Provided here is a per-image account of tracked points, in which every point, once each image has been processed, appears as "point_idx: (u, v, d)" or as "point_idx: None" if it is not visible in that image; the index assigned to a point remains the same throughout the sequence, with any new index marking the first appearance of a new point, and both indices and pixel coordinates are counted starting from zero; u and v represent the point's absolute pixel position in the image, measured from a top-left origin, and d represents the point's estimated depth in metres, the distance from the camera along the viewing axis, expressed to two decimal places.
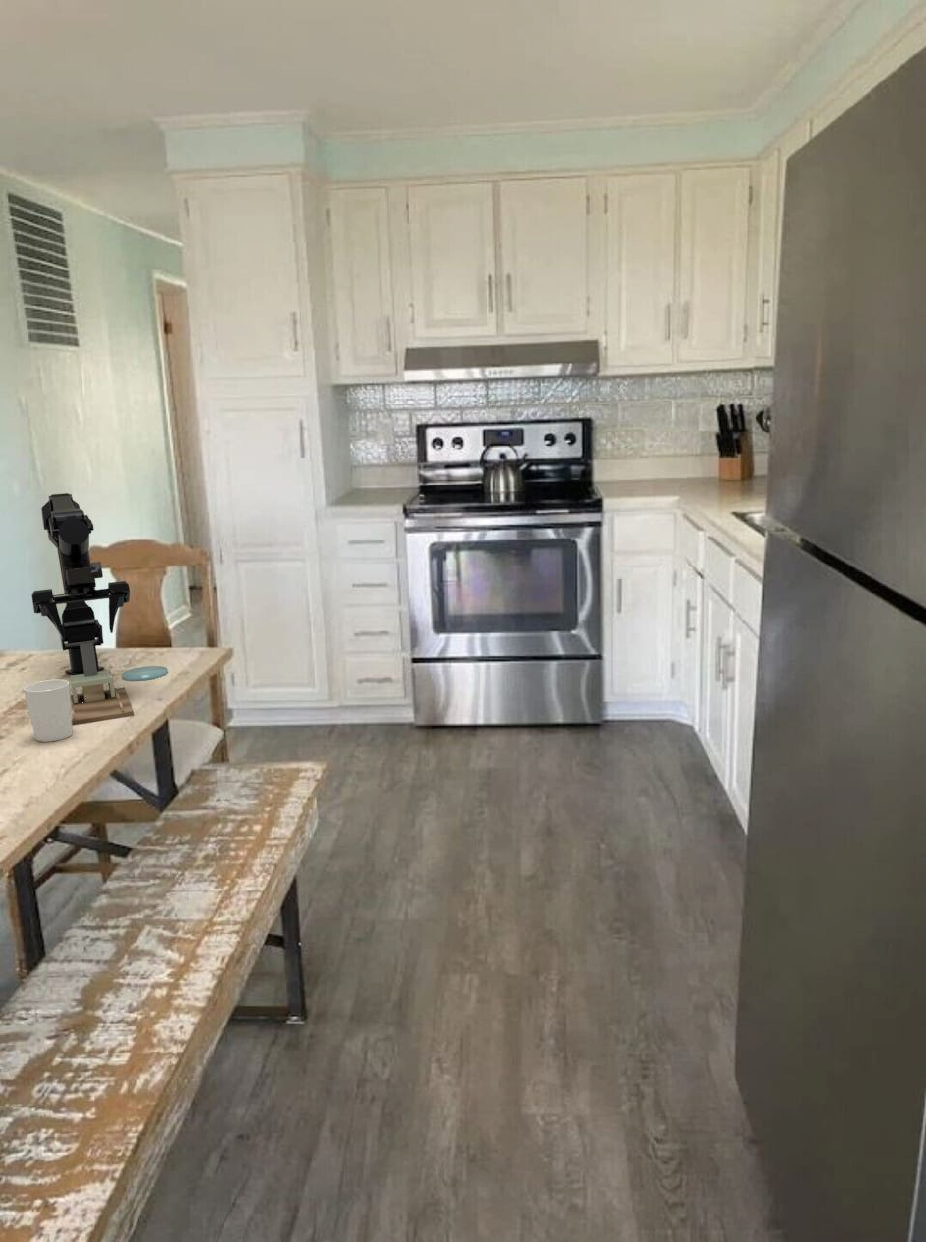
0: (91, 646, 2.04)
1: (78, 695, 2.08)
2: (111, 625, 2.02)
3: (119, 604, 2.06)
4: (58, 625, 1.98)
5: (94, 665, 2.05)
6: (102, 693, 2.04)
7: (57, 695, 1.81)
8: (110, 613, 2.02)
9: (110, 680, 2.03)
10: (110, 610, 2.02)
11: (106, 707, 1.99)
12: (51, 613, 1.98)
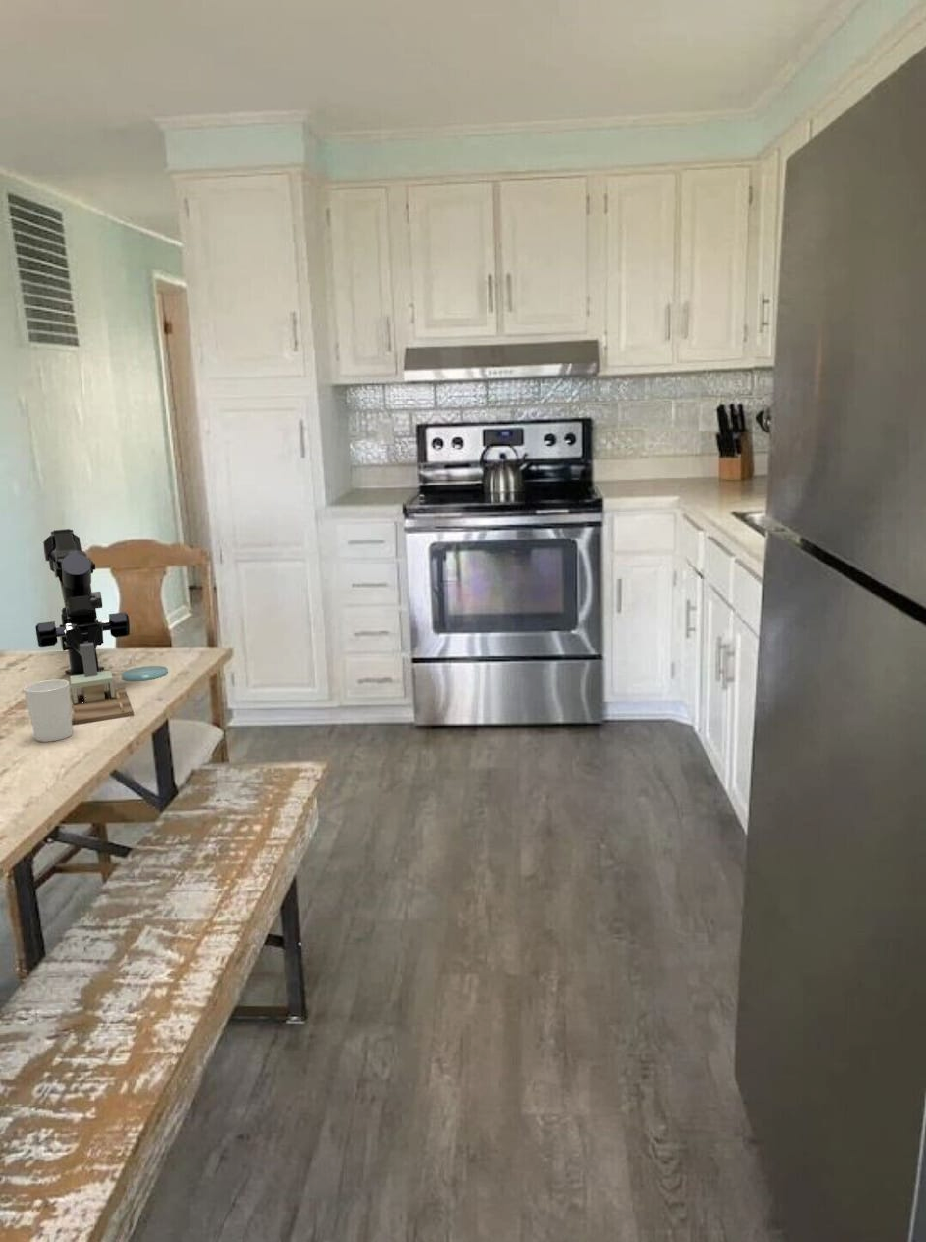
0: (91, 646, 2.04)
1: (78, 695, 2.08)
2: None
3: (98, 639, 2.13)
4: None
5: (94, 665, 2.05)
6: (102, 693, 2.04)
7: (57, 695, 1.81)
8: None
9: (110, 680, 2.03)
10: (88, 642, 2.09)
11: (106, 707, 1.99)
12: (76, 639, 2.08)
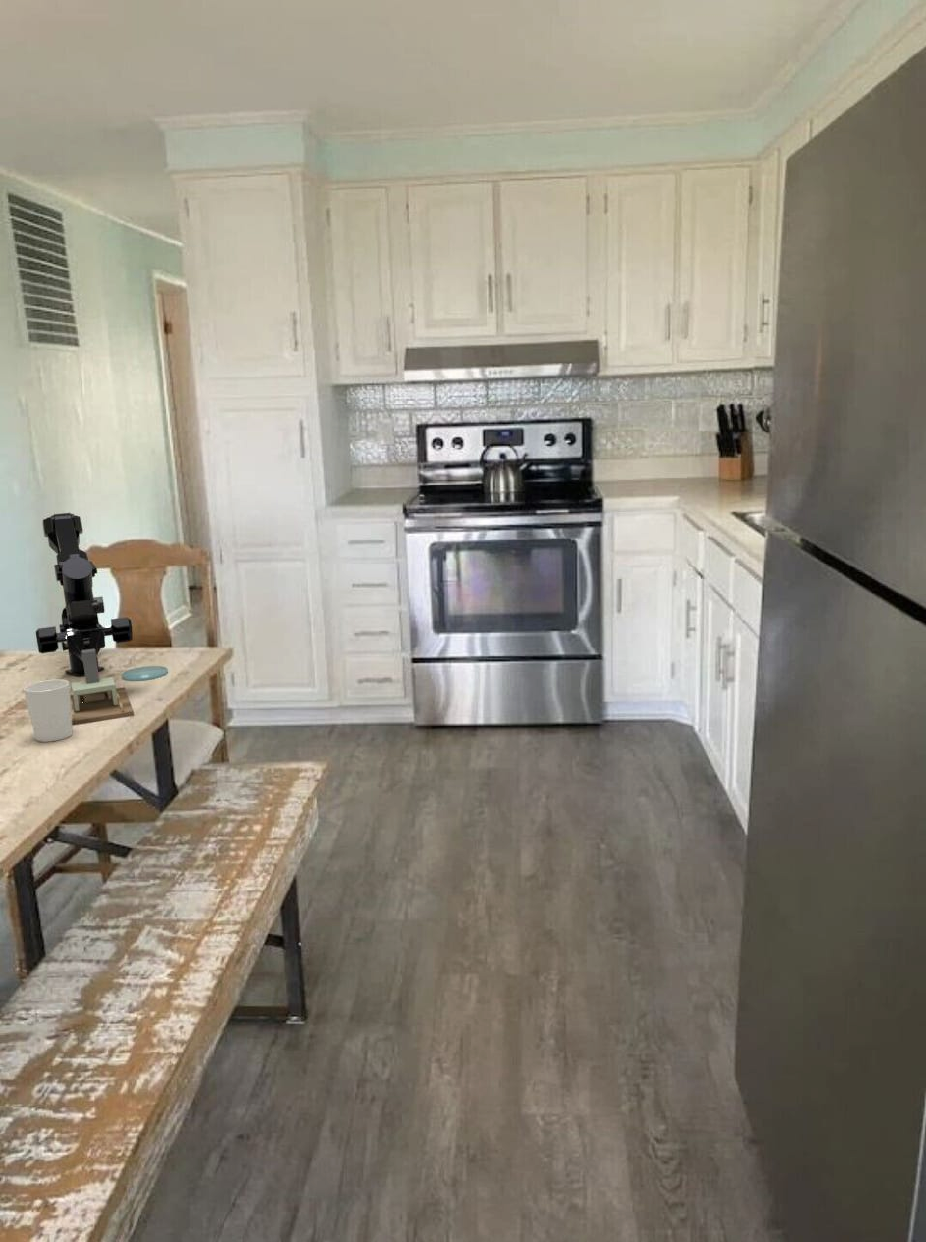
0: (93, 652, 1.99)
1: (78, 695, 2.08)
2: None
3: (100, 644, 2.07)
4: None
5: (96, 672, 2.00)
6: (102, 693, 2.04)
7: (57, 695, 1.81)
8: None
9: (112, 687, 1.98)
10: (90, 647, 2.03)
11: (106, 707, 1.99)
12: (77, 645, 2.03)
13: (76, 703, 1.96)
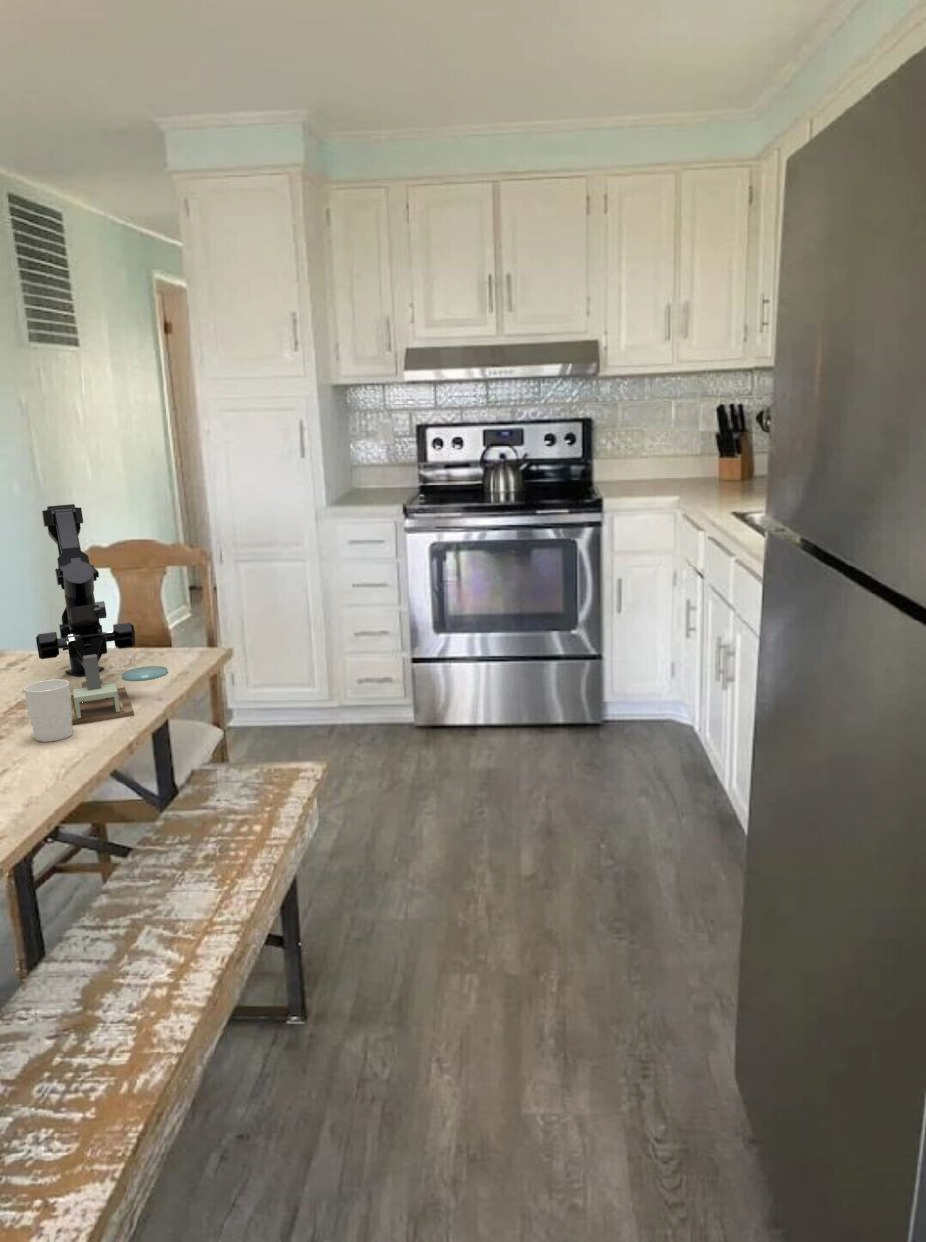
0: (95, 658, 1.94)
1: None
2: None
3: (102, 650, 2.03)
4: None
5: (98, 678, 1.95)
6: None
7: (57, 695, 1.81)
8: None
9: (115, 694, 1.93)
10: (92, 653, 1.99)
11: (106, 707, 1.99)
12: (79, 651, 1.98)
13: (77, 710, 1.91)
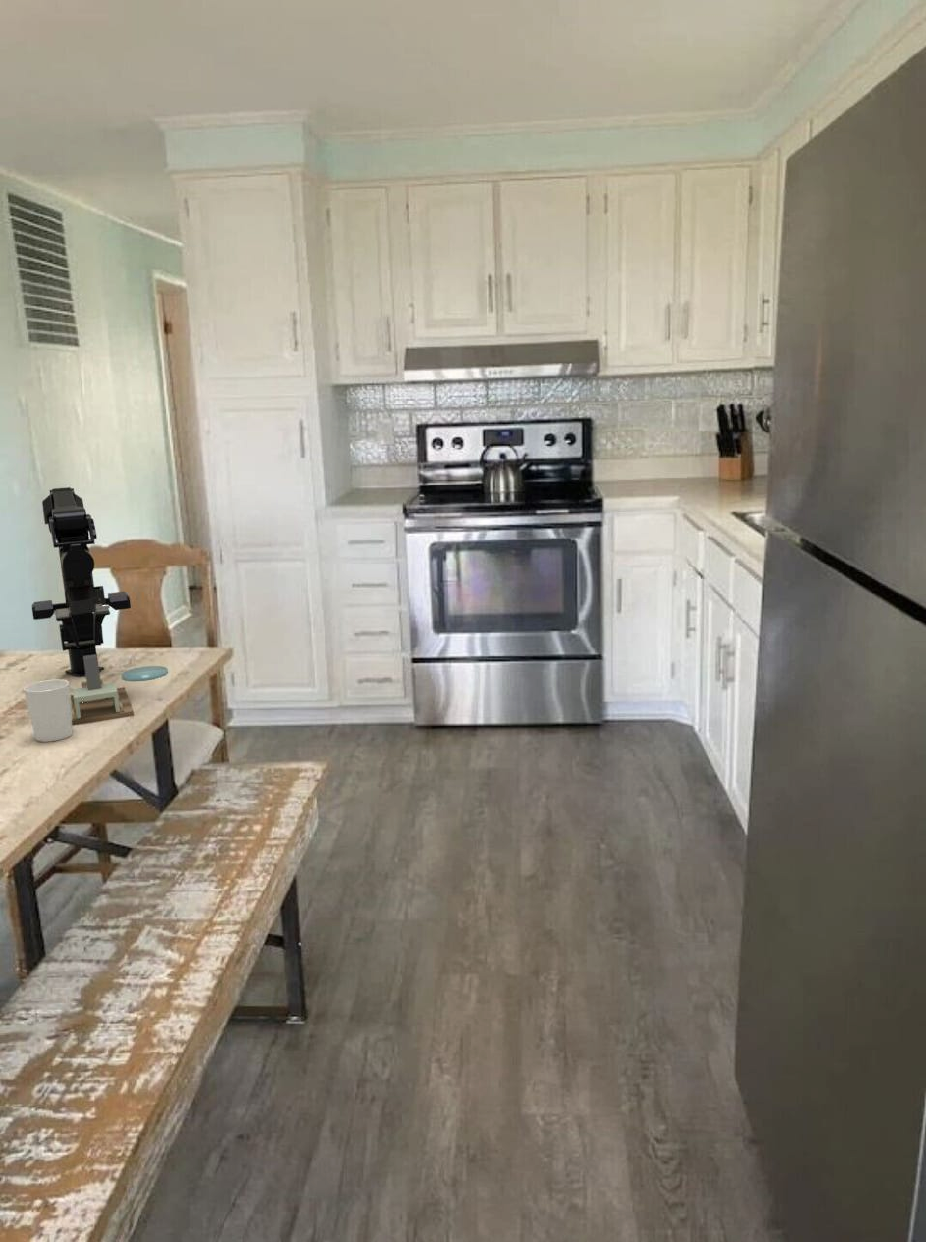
0: (95, 658, 1.94)
1: None
2: (96, 640, 2.03)
3: None
4: (73, 636, 2.01)
5: (98, 678, 1.95)
6: None
7: (57, 695, 1.81)
8: (95, 628, 2.02)
9: (115, 694, 1.93)
10: (95, 626, 2.02)
11: (106, 707, 1.99)
12: (67, 625, 2.00)
13: (77, 710, 1.91)
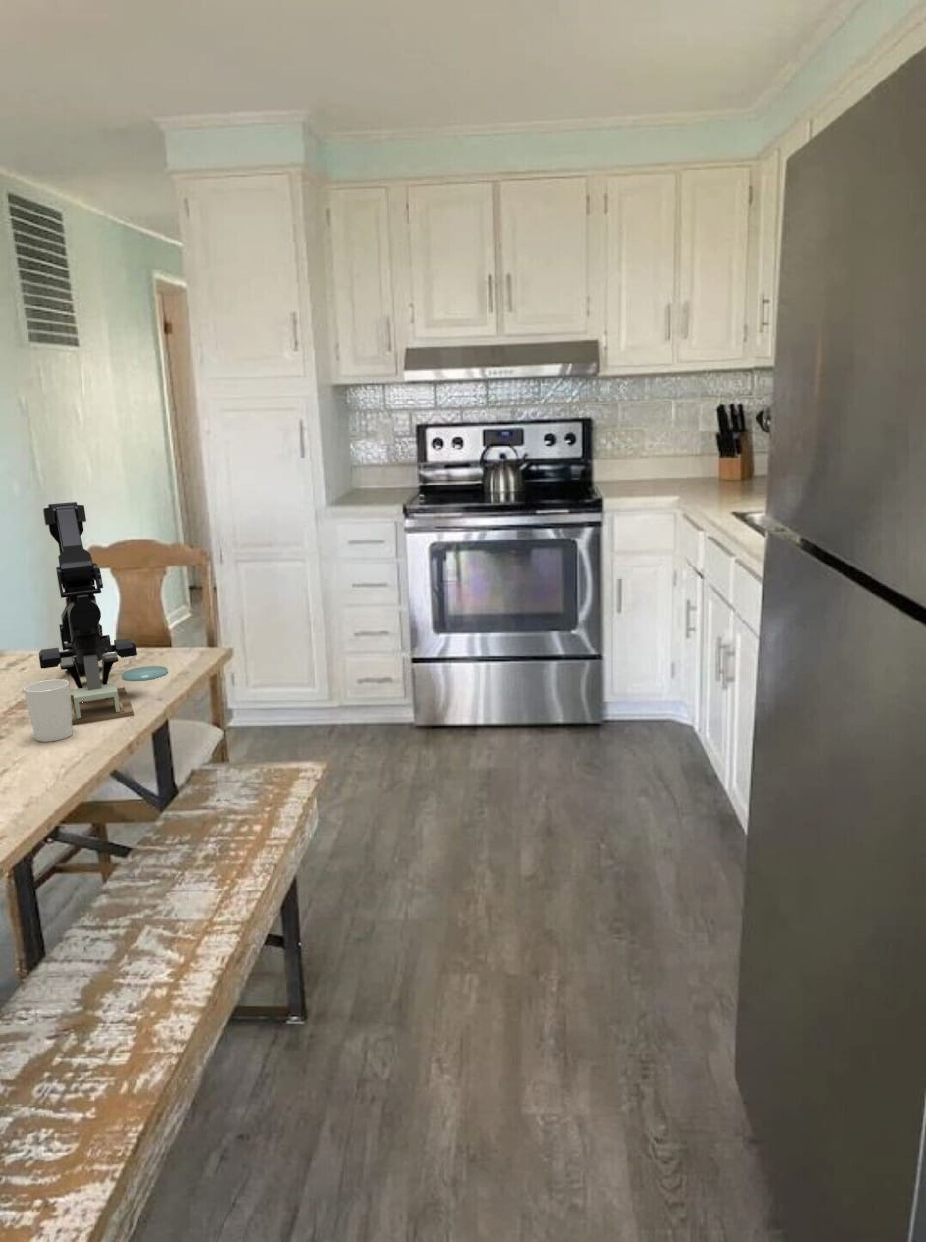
0: (95, 658, 1.94)
1: None
2: None
3: None
4: (77, 684, 2.03)
5: (98, 678, 1.95)
6: None
7: (57, 695, 1.81)
8: (104, 675, 2.05)
9: (115, 694, 1.93)
10: (104, 672, 2.05)
11: (106, 707, 1.99)
12: (71, 673, 2.02)
13: (77, 710, 1.91)
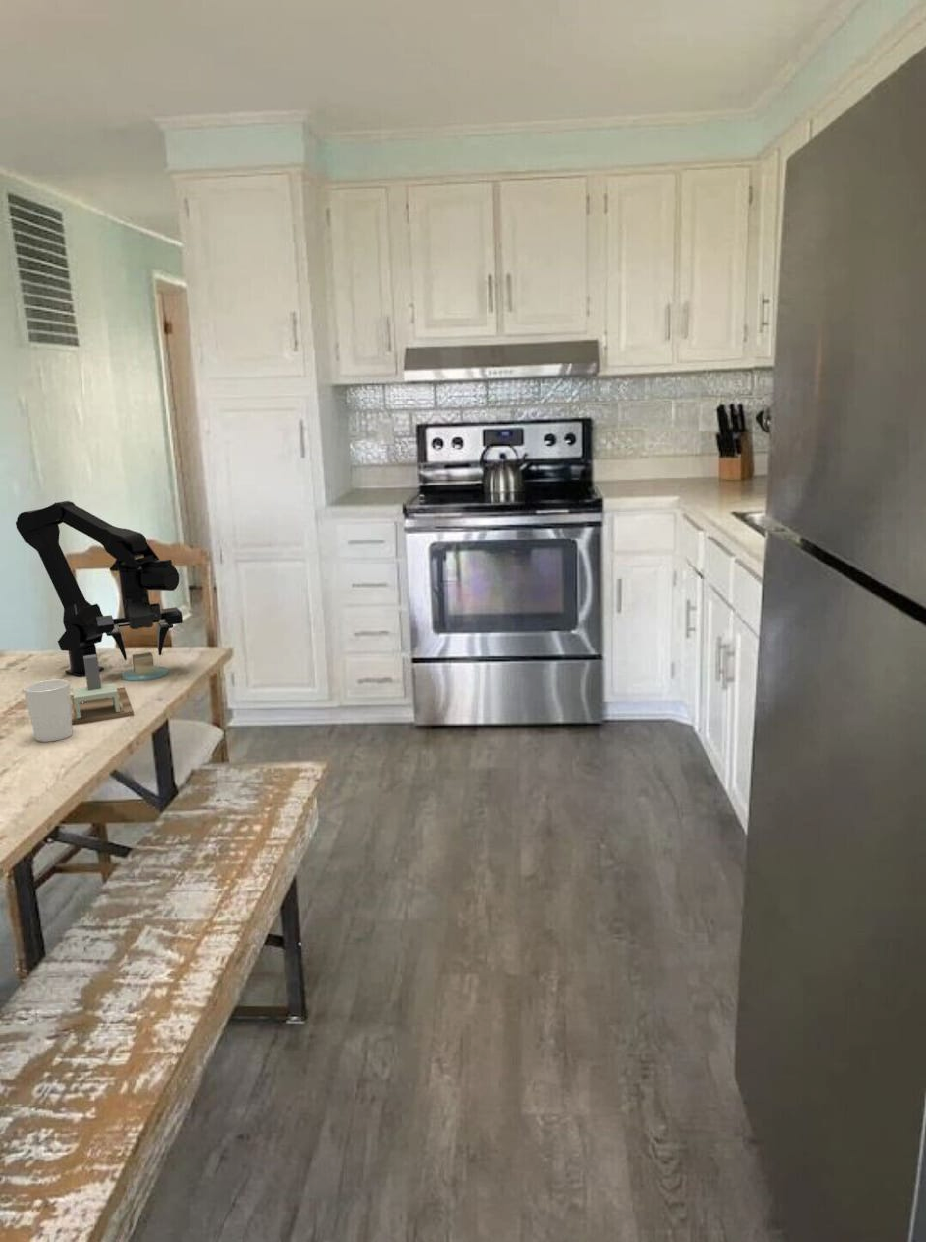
0: (95, 658, 1.94)
1: None
2: (160, 650, 2.24)
3: None
4: (121, 650, 2.21)
5: (98, 678, 1.95)
6: (151, 664, 2.23)
7: (57, 695, 1.81)
8: (160, 640, 2.24)
9: (115, 694, 1.93)
10: (160, 637, 2.23)
11: (106, 707, 1.99)
12: (116, 640, 2.19)
13: (77, 710, 1.91)
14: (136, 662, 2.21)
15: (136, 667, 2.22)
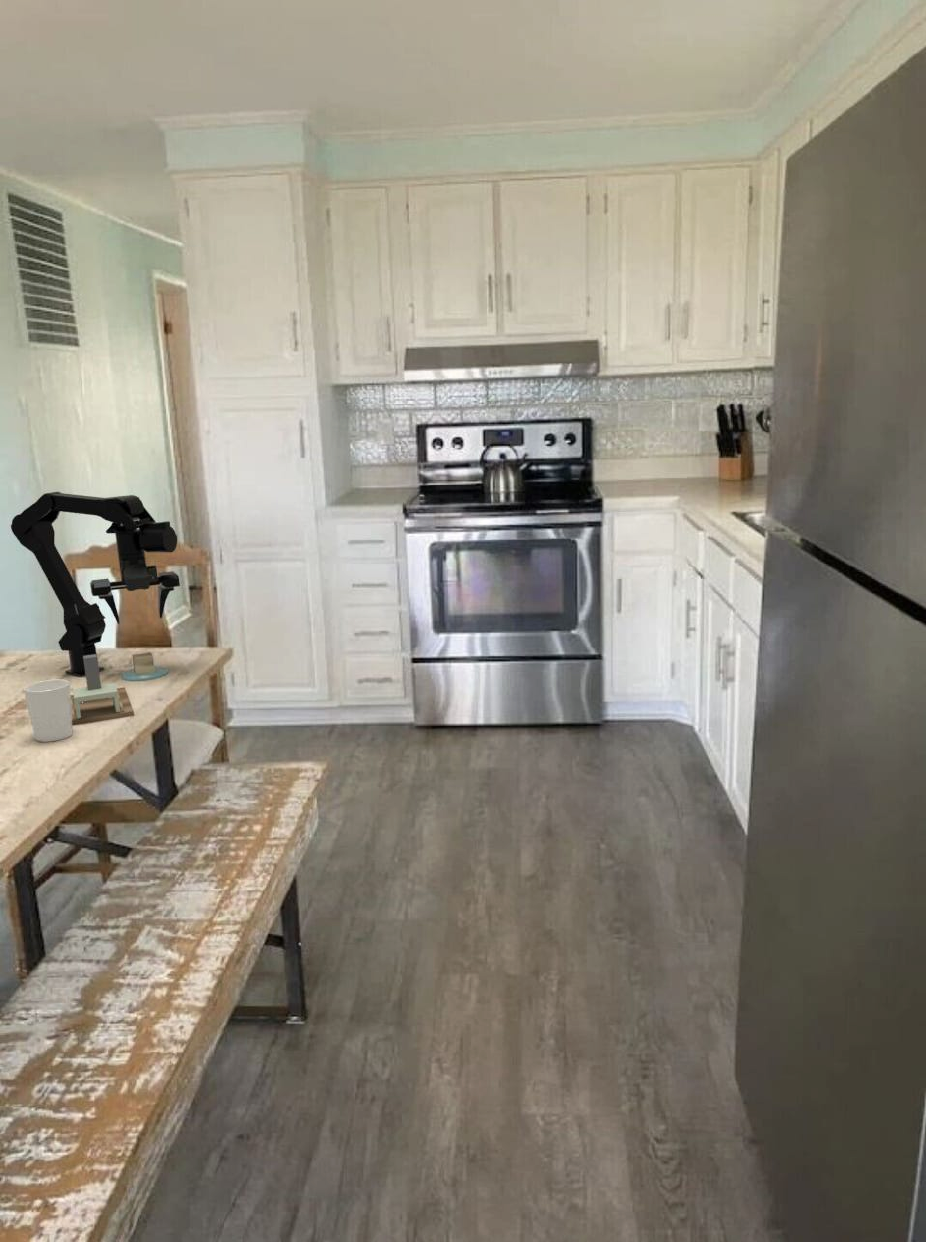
0: (95, 658, 1.94)
1: None
2: (161, 613, 2.24)
3: None
4: (114, 613, 2.20)
5: (98, 678, 1.95)
6: (151, 664, 2.23)
7: (57, 695, 1.81)
8: (161, 603, 2.23)
9: (115, 694, 1.93)
10: (161, 600, 2.23)
11: (106, 707, 1.99)
12: (108, 603, 2.18)
13: (77, 710, 1.91)
14: (136, 662, 2.21)
15: (136, 667, 2.22)
